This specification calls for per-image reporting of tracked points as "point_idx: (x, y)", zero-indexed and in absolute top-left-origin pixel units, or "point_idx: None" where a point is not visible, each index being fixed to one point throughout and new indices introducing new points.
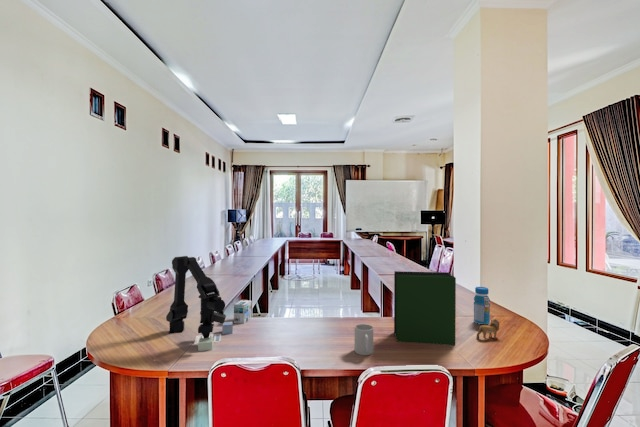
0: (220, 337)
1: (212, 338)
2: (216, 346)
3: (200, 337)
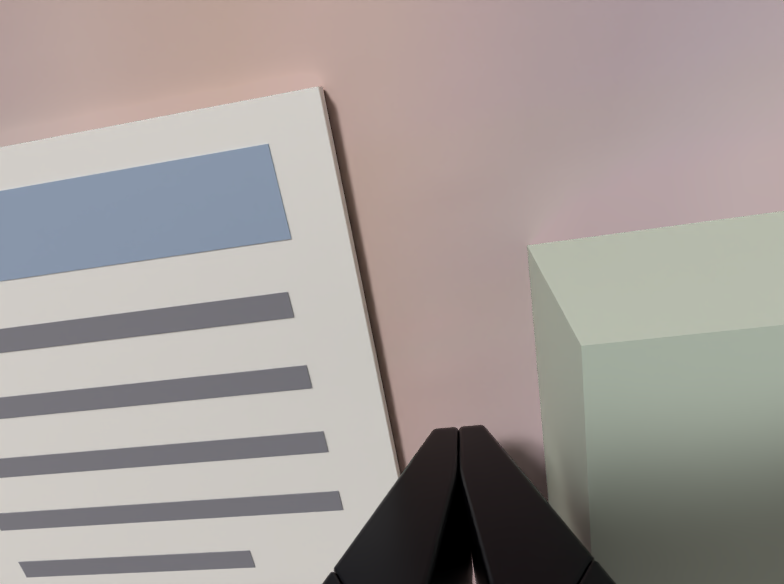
0: (8, 158)
1: (732, 350)
2: (629, 134)
3: (94, 577)
